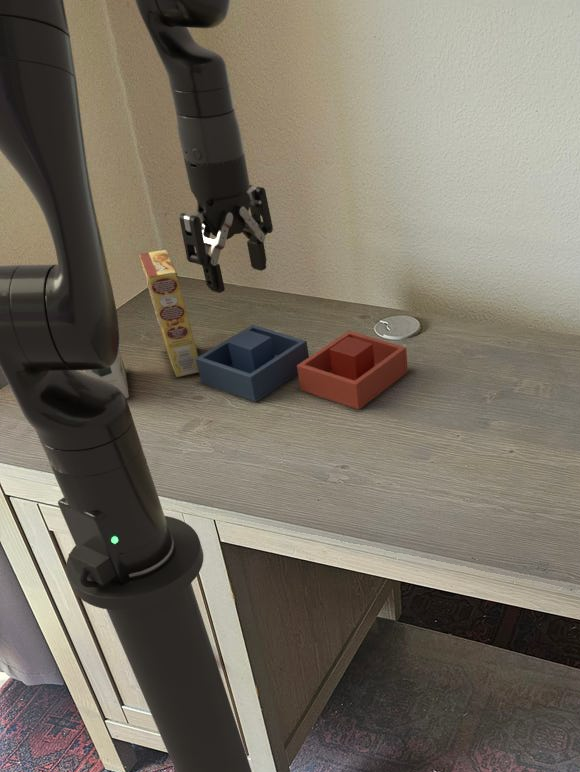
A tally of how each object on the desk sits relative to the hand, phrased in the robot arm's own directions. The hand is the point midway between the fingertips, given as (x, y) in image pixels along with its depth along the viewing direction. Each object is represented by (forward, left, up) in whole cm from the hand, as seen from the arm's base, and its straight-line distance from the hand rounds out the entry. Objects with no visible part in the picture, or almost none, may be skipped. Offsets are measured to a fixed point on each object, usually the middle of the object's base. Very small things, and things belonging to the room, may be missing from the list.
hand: (238, 279), depth 120 cm
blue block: (0, 0, -14) cm, 14 cm away
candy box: (-3, +12, -15) cm, 19 cm away
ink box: (-14, +16, -15) cm, 26 cm away
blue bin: (0, 0, -14) cm, 14 cm away
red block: (+6, -14, -14) cm, 21 cm away
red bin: (+6, -14, -14) cm, 21 cm away
